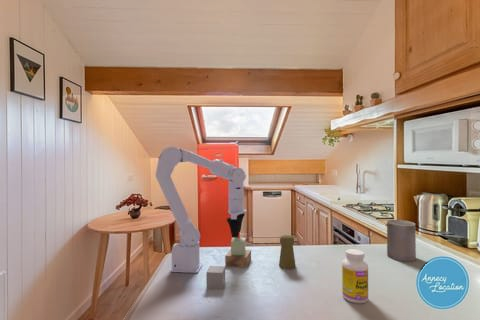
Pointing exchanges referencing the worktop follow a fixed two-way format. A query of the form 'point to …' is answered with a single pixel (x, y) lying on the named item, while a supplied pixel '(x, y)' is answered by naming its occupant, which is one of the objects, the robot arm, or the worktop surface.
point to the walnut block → (238, 259)
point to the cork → (287, 252)
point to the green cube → (238, 246)
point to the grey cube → (215, 277)
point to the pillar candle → (401, 240)
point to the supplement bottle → (355, 277)
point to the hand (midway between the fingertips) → (236, 234)
